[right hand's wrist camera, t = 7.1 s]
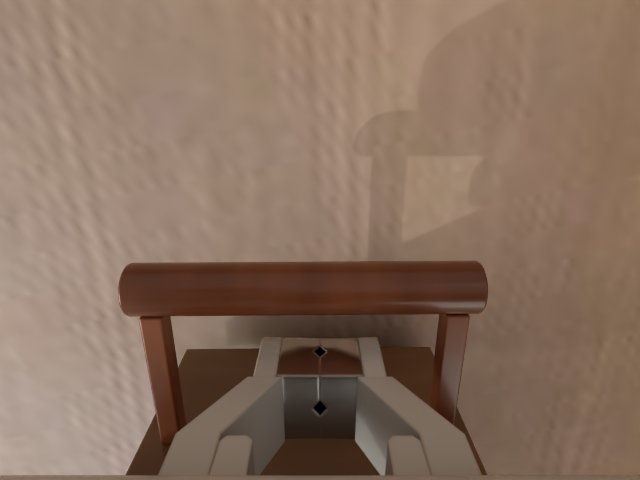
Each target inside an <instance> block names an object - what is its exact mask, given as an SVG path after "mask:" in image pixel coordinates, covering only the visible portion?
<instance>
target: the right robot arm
mask: <svg viewBox="0 0 640 480" xmlns="http://www.w3.org/2000/svg"><path fill="white" fill-rule="evenodd" d="M306 438H333V439H355V442H356V443H357V444H358V446H359V447H360V448H361V450H362V451H363V452H364V454H365V455H366V456H367V458H368V459H369V460H370V462H371V463H372V464H373V466H374V467H375V468H376V470H377V471H378V473H379V474H380V475H260V474H261V473H262V471H263V470H264V469H265V467H266V466H267V465H268V463H269V462H270V461H271V459H272V458H273V457H274V455H275V454H276V453H277V451H278V450H279V449H280V447H281V446H282V445H283V443H284V442H285V439H306ZM0 480H640V475H482V474H481V472H480V469H479V467H478V464H477V462H476V460H475V457H474V455H473V453H472V450H471V448H470V445H469V443H468V441H467V438H466V436H465V434H464V433H463V432H461V431H460V430H459V429H458V428H456V427H455V426H454V425H453V424H451V423H450V422H449V421H448V420H446V419H445V418H444V417H443V416H441V415H440V414H439V413H438V412H436V411H435V410H434V409H432V408H431V407H430V406H429V405H427V404H426V403H425V402H424V401H422V400H421V399H420V398H419V397H417V396H416V395H415V394H414V393H412V392H411V391H410V390H409V389H407V388H406V387H405V386H404V385H402V384H401V383H400V382H399V381H397V380H396V379H395V378H393V377H387V375H386V371H385V367H384V363H383V358H382V354H381V350H380V346H379V342H378V338H377V337H358V338H301V337H283V338H282V337H264V338H263V339H262V341H261V345H260V350H259V354H258V358H257V362H256V367H255V371H254V375H253V377H247V378H245V379H244V380H243V381H241V382H240V383H239V384H238V385H236V386H235V387H234V388H233V389H231V390H230V391H229V392H228V393H226V394H225V395H224V396H223V397H221V398H220V399H219V400H217V401H216V402H215V403H214V404H212V405H211V406H210V407H209V408H207V409H206V410H205V411H204V412H202V413H201V414H200V415H199V416H197V417H196V418H195V419H193V420H192V421H191V422H190V423H188V424H187V425H186V426H185V427H183V428H182V429H181V430H180V431H178V432H177V433H176V434H175V436H174V439H173V441H172V443H171V446H170V448H169V450H168V453H167V455H166V457H165V460H164V462H163V465H162V467H161V469H160V472H159V474H158V475H0Z"/></svg>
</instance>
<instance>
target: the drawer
mask: <svg viewBox="0 0 640 480" xmlns="http://www.w3.org/2000/svg"><path fill="white" fill-rule="evenodd" d="M118 297H119V304H120V307H121V309H122V311H123V313H124V314H125V315H127V316H141V317H140V319H139V323H140V328H141V334H142V339H143V345H144V350H145V356H146V361H147V367H148V372H149V378H150V383H151V389H152V394H153V400H154V405H155V411H156V414H155V416H154V418H153V420H152V422H151V424H150V426H149V428H148V430H147V432H146V434H145V437H144V439H143V441H142V443H141V445H140V447H139V449H138V451H137V453H136V455H135V457H134V459H133V461H132V463H131V465H130V467H129V469H128V471H127V473H126V475H158V474H159V472H160V469H161V467H162V465H163V462H164V460H165V457H166V455H167V453H168V450H169V448H170V446H171V443H172V441H173V439H174V436H175V434H176V433H177V432H178V431H180V430H181V429H182V428H183V427H185V426H186V425H187V424H188V423H190V422H191V421H192V420H193V419H195V418H196V417H197V416H199V415H200V414H201V413H202V412H204V411H205V410H206V409H207V408H209V407H210V406H211V405H212V404H214V403H215V402H216V401H217V400H219V399H220V398H221V397H223V396H224V395H225V394H226V393H228V392H229V391H230V390H231V389H233V388H234V387H235V386H236V385H238V384H239V383H240V382H241V381H243V380H244V379H245V378H247V377H253V375H254V371H255V367H256V362H257V358H258V354H259V350H260V349H188V350H187V351H186V353H185V355H184V357H183V359H182V361H181V363H180V365H179V367H178V365H177V358H176V352H175V345H174V338H173V332H172V325H171V318H170V316H252V315H377V314H439V322H438V331H437V339H436V348H435V356H434V355H433V353H432V351H431V349H430V347H391V348H380V350H381V354H382V358H383V363H384V367H385V371H386V375H387V377H393V378H395V379H396V380H397V381H399V382H400V383H401V384H402V385H404V386H405V387H406V388H407V389H409V390H410V391H411V392H412V393H414V394H415V395H416V396H417V397H419V398H420V399H421V400H422V401H424V402H425V403H426V404H427V405H429V406H430V407H431V408H432V409H434V410H435V411H436V412H438V413H439V414H440V415H441V416H443V417H444V418H445V419H446V420H448V421H449V422H450V423H451V424H453V425H454V426H455V427H456V428H458V429H459V430H460V431H461V432H463V433H464V434H465V436H466V438H467V441H468V443H469V445H470V448H471V450H472V453H473V455H474V457H475V460H476V462H477V464H478V467H479V469H480V472H481V474H482V475H487V473H486V471H485V469H484V467H483V464H482V462H481V460H480V458H479V455H478V453H477V451H476V449H475V447H474V444H473V442H472V440H471V438H470V435H469V433H468V431H467V429H466V427H465V424H464V422H463V420H462V418H461V415H460V413H459V411H458V409H457V407H456V406H457V399H458V393H459V386H460V379H461V372H462V366H463V359H464V352H465V345H466V338H467V332H468V325H469V318H470V317H469V315H468V314H478V313H481V312H482V311H483V310H484V308H485V306H486V303H487V297H488V284H487V277H486V274H485V271H484V268H483V266H482V265H481V264H480V263H479V262H477V261H364V262H207V263H131V264H129V265H127V266H126V267H125V268H124V270H123V272H122V274H121V277H120V281H119V288H118ZM260 475H380V474H379V473H378V471H377V470H376V468H375V467H374V466H373V464H372V463H371V462H370V460H369V459H368V458H367V456H366V455H365V454H364V452H363V451H362V450H361V448H360V447H359V446H358V444H357V443H356V442H355V439H333V438H306V439H285V442H284V443H283V445H282V446H281V447H280V449H279V450H278V451H277V453H276V454H275V455H274V457H273V458H272V459H271V461H270V462H269V463H268V465H267V466H266V467H265V469H264V470H263V471H262V473H261V474H260Z"/></svg>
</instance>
